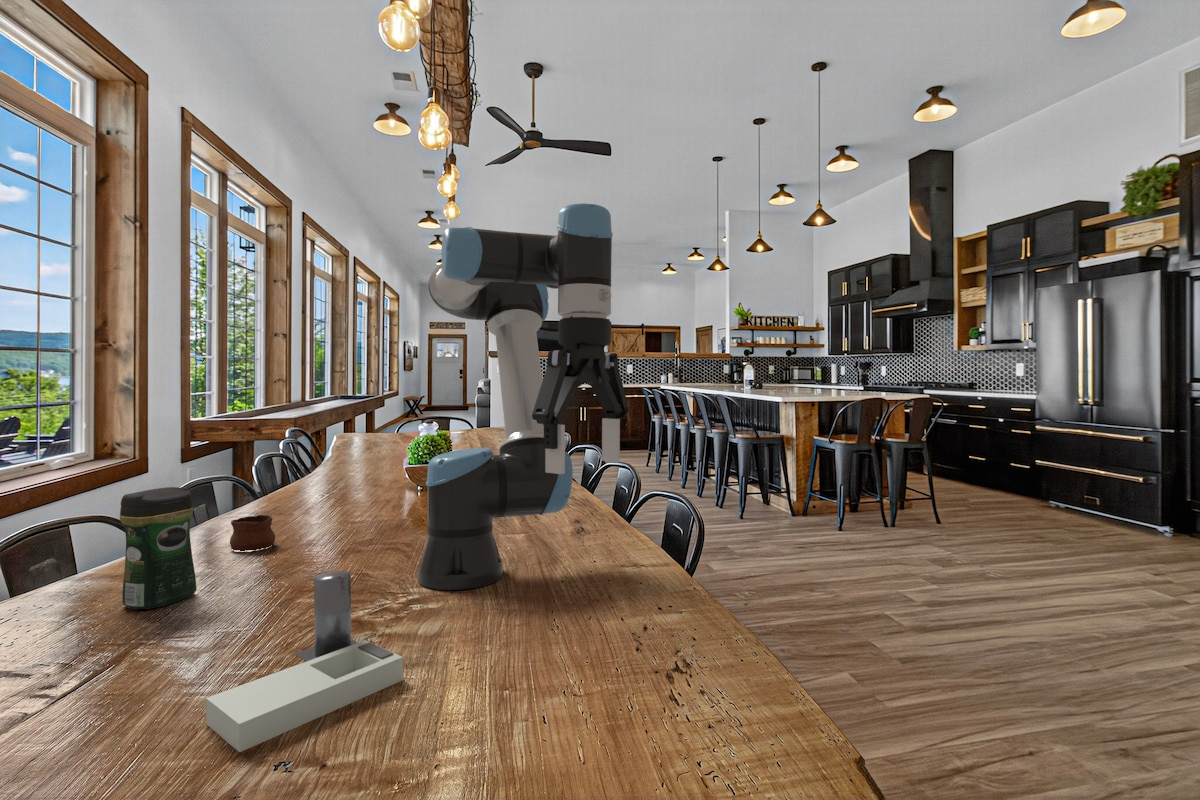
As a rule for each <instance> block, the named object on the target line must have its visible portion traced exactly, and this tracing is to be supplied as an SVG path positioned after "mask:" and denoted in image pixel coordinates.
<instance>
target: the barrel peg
mask: <svg viewBox="0 0 1200 800" xmlns="http://www.w3.org/2000/svg"><path fill="white" fill-rule="evenodd" d="M351 575H352V574H351V572H349V571H345V570H332V571H328V572H322V573H320V574H316V575H314V577H313V597H314V598H313V603H314V604H313V605H314V609H313V610H314V647H315V656H316V657H317V658H318V657H320V656H323V655H326V654H329V653H331V652H334V651H337V650H340V649H342V648H345V647H348V646H351V645H352V642H351V639H352V596H351V595H352V589H351V587H352V585H351V584H352V583H351V581H352V580H351V577H352V576H351Z"/></svg>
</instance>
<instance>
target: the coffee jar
mask: <svg viewBox="0 0 1200 800" xmlns="http://www.w3.org/2000/svg"><path fill="white" fill-rule="evenodd" d="M119 512H120V513H119V520H120V522H121V525H122V526H123V529H124V532H125V533H124V534H125V559H124V560H125V561H124V571H123V582H122V595H121V596H122V599H121V600H122V604H123V605H124V606H125V607H126V608H127V609H131V610H136V611H138V610H142V609H148V610H150V609H155V608H160V607H163V606H166V605H170V604H173V603H176V602H179V601H182V600H184V599H187V598H190V597H191V596H193V595H195V593H196V591H197V578H196V577H197V576H196V572H195V571H196V570H195V566H194V565H195V564H194V558H193V553H192V543H191V542H192V541H191V534H190V531H191V530H190V529H191V528H190V526H191V521H192V520H191V519H192V516H193V514H194V505H193V499H192V492H191V491H190V490H189V488H187V487H178V486H177V487H176V486H170V487H169V486H168V487H159V488H153V489H147V490H141V491H136V492H133V493H127V494H124V495H123V496H122V498H121V501H120V510H119Z"/></svg>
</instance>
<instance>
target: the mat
mask: <svg viewBox="0 0 1200 800" xmlns="http://www.w3.org/2000/svg"><path fill="white" fill-rule="evenodd" d="M351 642H352V645H353V644H356V643H359V642H358V641H355V640H353V639H352V638H351ZM294 655H295V656H296V657H298V658H300V659H301V660H304V662H307V661H309V660H312V659H315V658H317V657H316V656H315V646H312V647H309V648H307V649H304V650H301V651H297V652H295V653H294Z"/></svg>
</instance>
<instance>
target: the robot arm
mask: <svg viewBox="0 0 1200 800" xmlns="http://www.w3.org/2000/svg"><path fill="white" fill-rule="evenodd" d="M556 230H557V235H549V234H539V233H526V232H513V231H502V230H492V229H481V228H474V227H472V226H466V227H448V228H446V229H445V230H444V232H443V235H442V241H441V263H440V264H439V265H437V266H436V267H435V268H434V269H433V271H432V272H431V275H430V276H429V279H428V292H429V295H430V298H431V300H432V301H433V303H434V304H435V305H436V306H437V307H438V308H439V309H441V310H442V311H444V312H446V313H447V314H450V315H452V316H454V317H457V318H461V319H466V320H476V321H479V320H480V321H486V325H487V326H486V327H487V329H488V332H489V333H491V334H492V335H494V336H495V341H496V352H497V361H498V362H497V363H498V372H499V380H500V381H499V384H500V392H501V401H502V411H503V422H504V431H505V432H504V433H505V440H504V441H503V443H502V444H501V445H500V446H499V454H494V452H493V450H492V449H491V448H490V447H474V448H473V447H472V448H463V449H457V450H453V451H449V452H444V453H440V454H438V455H436V456H434V457H432V458H431V459H430V460H429V462H428V464H427V477H426V481H425V486H426V487H427V539H426V542H425V546H424V549H423V553H422V555H421V556H422V557H421V560H420V563H419V565H418V569H417V579H418V580H417V582H418V583H419V584H420V585H421V586H423V587H425V588H428V589H432V590H433V589H434V590H441V591H459V590H470V589H476V588H481V587H484V586H485V587H486V586H489V585H491V584H493V583H496V582H497V581H499V580H501V578H502V577H503V573H504V571H503V560H502V558H501V557H500V556H501V555H500V552H499V550H498V546H497V543H496V540H495V536H494V533H493V526H494V525H493V521H494V519H495V518H511V517H522V516H534V515H538V516H539V515H540V516H544V515H546V514H552V513H553V514H554V513H559V512H561V511H562V510H563V509H565V507H566V506H567V504H568V502H569V499H570V496H571V492H572V487H573V485H572V484H573V462H572V458H571V455H570V454H569V452H567V451H566V450H565V449H566V447H565V445H566V439H565V438H566V433H565V431H566V425H565V424H561V422H562V420H563V418H564V416H565V413H566V411H568V408H569V406H570V403H571V402H572V400H573V398H574V396H575V393H576V392H577V390H578V388H579V387H581V386H582V385H583V384H586V385H588V386H589V387H591V388H592V391H593V393H594V395H595V397H596V399H597V401H598V403H599V404H600V407H601V409H602V411H603V412H604V413H603V414H604V415H605V417H602V419H601V424H602V425H601V461H602V462H611V463H612V462H613V463H619V462H620V458H621V457H620V456H621V454H620V453H621V451H620V449H621V443H620V441H621V438H620V437H621V419H627V417H628V413H629V411H630V407H629V403H628V399H627V395H626V393H625V392H626V391H625V387H624V385H623V381H622V376H621V373H620V368H619V359H618V357H619V356H618V354H617V352H608V353H607V352H605V347H608V346H610V344H611V343H612V321H611V320H610V318H608V317H609V316H610V315H611V314H612V293H611V291H612V288H611V287H612V253H613V252H612V250H613V249H612V246H613V245H612V241H613V240H612V238H613V236H614V235H613V234H614V233H613V232H612V217H611V212H610V211H609V210H608V209H607V208H606V207H604V206H602V205H600V204H599V205H598V204H592V203H573V204H569V205H566V206H563V207H562V208H560V210H559V213H558V221H557V225H556ZM548 288H549V289H552V290H553V289H556V290H558V291H557V314H558V315H559V316H561V318H560V319H559V320H558V323H557V324H558V325H557V326H558V327H557V328H558V329H557V330H558V333H557V335H558V338H557V339H558V341H557V342H558V344H559V345H560V346H563V347H564V348H563V349H560V350H558V349H557V350H556V349H555V350H549V351H548V352H547V361H546V362H547V364H546V369H545V371H544V376H543V373H542V365H541V359H540V351H539V343H538V342H539V341H538V336H537V335H538V333H537V332H538V331H539V330H540V328H541V327H542V325H543V322H544V321H545V320H546V318H547V317H548V313H549V301H548V299H549V292H548Z"/></svg>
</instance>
